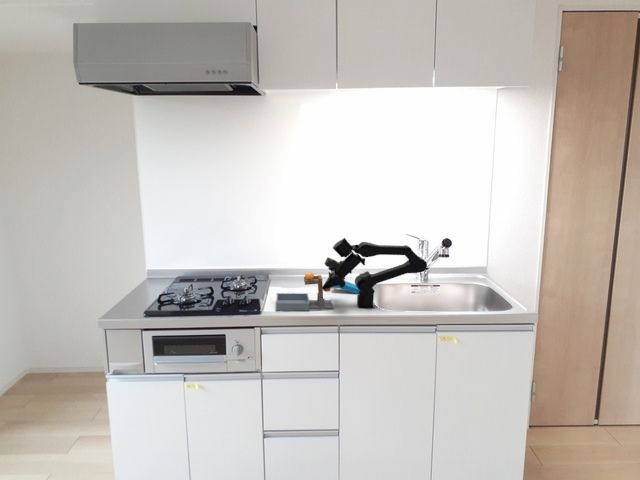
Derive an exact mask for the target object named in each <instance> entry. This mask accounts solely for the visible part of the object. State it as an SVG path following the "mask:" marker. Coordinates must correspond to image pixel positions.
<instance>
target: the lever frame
mask: <svg viewBox="0 0 640 480" xmlns="http://www.w3.org/2000/svg"><path fill="white" fill-rule="evenodd" d="M310 310H311V311H312V310H313V311H314V310H315V311H316V310H319V311H320V310H322V311H325V310H327V311H328V310H329V311H330V310H332V311H333V310H334V305H333V303H332V300H331V299H325V298H324V297H323V298H318V295H317V297H316V299H309V311H310Z"/></svg>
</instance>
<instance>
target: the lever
mask: <svg viewBox="0 0 640 480" xmlns="http://www.w3.org/2000/svg"><path fill="white" fill-rule="evenodd" d="M332 289H341V290H344V291H346V292H350V293H353V294H356V295H359V291H360V290H359V289H358V288H357V286H356V284H355V283H352V282H349V281H346V280H345V286H344V287H343V288H341V287H340V286H339V285H337V286H334V287H331V288H328V289H325V290H324V291H325V292H330V290H332Z"/></svg>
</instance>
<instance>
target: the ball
mask: <svg viewBox="0 0 640 480" xmlns="http://www.w3.org/2000/svg"><path fill="white" fill-rule="evenodd" d="M314 276H315V275H314V272H312V271H307V272H306V273H305V274H304V277H305V279H306V280H313V279H314Z"/></svg>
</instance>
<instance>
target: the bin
mask: <svg viewBox="0 0 640 480" xmlns="http://www.w3.org/2000/svg"><path fill="white" fill-rule="evenodd" d="M275 300H276V304H275V305H276V307H275V308H276V309H275V310H276V312H310V306H309V300H310V298H309V293H307V292H306V293H305V292H304V293H303V292H302V293H300V292H299V293H291V292H290V293H289V292H288V293H285V292H284V293H281V292H280V293H279V292H278V293H276V299H275Z"/></svg>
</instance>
